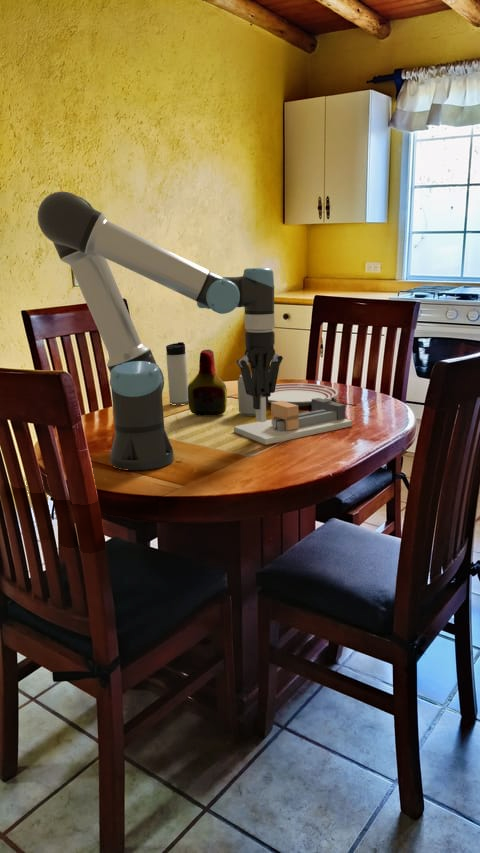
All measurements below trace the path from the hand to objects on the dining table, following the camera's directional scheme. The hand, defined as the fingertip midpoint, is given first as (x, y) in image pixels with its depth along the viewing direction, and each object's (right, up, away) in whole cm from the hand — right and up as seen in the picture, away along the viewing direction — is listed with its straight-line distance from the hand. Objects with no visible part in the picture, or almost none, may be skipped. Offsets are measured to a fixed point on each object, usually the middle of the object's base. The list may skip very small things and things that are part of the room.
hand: (260, 420), depth 175 cm
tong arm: (+11, -1, +8) cm, 14 cm away
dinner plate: (+13, +7, +44) cm, 46 cm away
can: (-2, +2, +29) cm, 29 cm away
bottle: (-15, +2, +29) cm, 33 cm away
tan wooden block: (+7, -2, +5) cm, 9 cm away
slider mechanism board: (+9, -2, +9) cm, 13 cm away
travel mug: (-25, +6, +46) cm, 53 cm away
